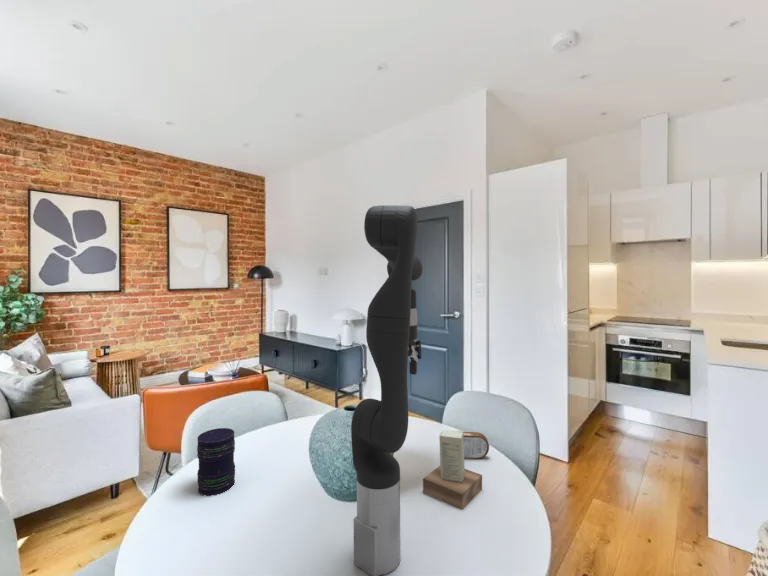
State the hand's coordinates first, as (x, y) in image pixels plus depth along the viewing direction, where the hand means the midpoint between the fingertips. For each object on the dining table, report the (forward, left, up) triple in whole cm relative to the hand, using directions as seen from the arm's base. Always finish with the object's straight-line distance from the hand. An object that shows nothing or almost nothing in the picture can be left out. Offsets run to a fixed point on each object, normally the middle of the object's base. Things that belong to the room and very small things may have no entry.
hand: (405, 376), depth 108 cm
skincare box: (+2, -15, -26) cm, 30 cm away
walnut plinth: (+2, -15, -30) cm, 34 cm away
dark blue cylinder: (-39, +39, -30) cm, 63 cm away
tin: (+22, -9, -30) cm, 39 cm away
